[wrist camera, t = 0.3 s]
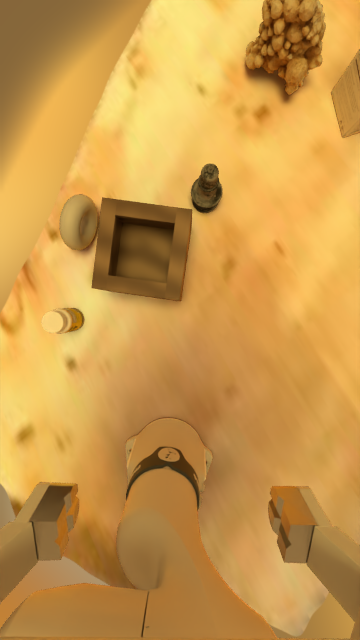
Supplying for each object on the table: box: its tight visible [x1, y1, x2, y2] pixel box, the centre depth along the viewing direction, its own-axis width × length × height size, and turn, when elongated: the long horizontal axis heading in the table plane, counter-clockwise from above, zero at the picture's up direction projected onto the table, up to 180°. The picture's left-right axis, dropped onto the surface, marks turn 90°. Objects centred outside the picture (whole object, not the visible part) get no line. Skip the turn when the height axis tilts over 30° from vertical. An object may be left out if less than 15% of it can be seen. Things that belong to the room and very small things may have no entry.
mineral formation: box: [245, 0, 326, 95], centre depth 41 cm, size 8×13×15 cm, turn 58°
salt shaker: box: [191, 164, 222, 213], centre depth 44 cm, size 6×6×12 cm
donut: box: [60, 194, 98, 250], centre depth 46 cm, size 10×4×10 cm, turn 162°
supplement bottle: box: [42, 308, 84, 334], centre depth 48 cm, size 5×5×8 cm
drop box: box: [92, 198, 192, 301], centre depth 46 cm, size 15×15×10 cm
